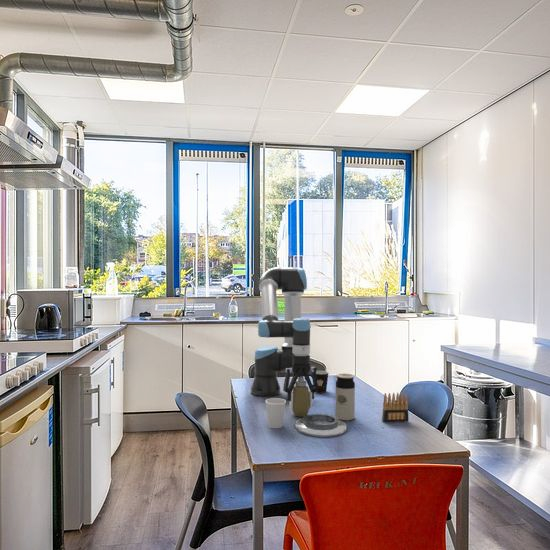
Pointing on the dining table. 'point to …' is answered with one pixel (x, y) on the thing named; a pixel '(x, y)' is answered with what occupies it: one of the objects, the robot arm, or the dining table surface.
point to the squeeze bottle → (301, 398)
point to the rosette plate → (320, 432)
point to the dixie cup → (275, 412)
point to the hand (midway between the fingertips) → (300, 407)
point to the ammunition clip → (395, 409)
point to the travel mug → (345, 397)
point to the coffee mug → (321, 381)
